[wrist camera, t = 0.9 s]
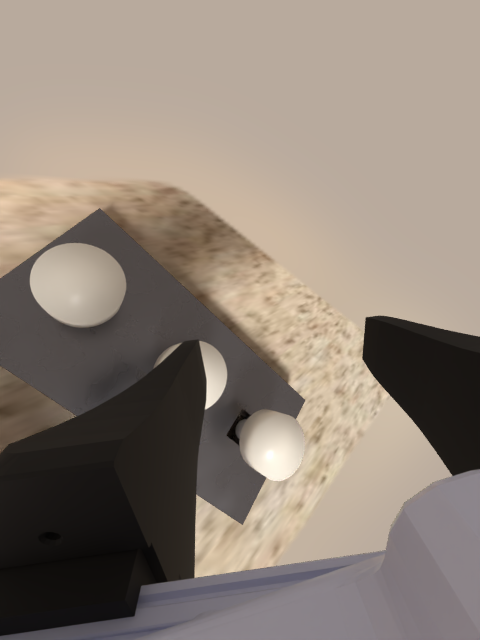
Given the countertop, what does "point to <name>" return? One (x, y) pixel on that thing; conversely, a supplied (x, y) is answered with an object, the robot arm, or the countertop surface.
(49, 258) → the knob
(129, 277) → the mount plate
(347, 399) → the countertop surface
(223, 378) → the knob mid
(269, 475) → the knob
